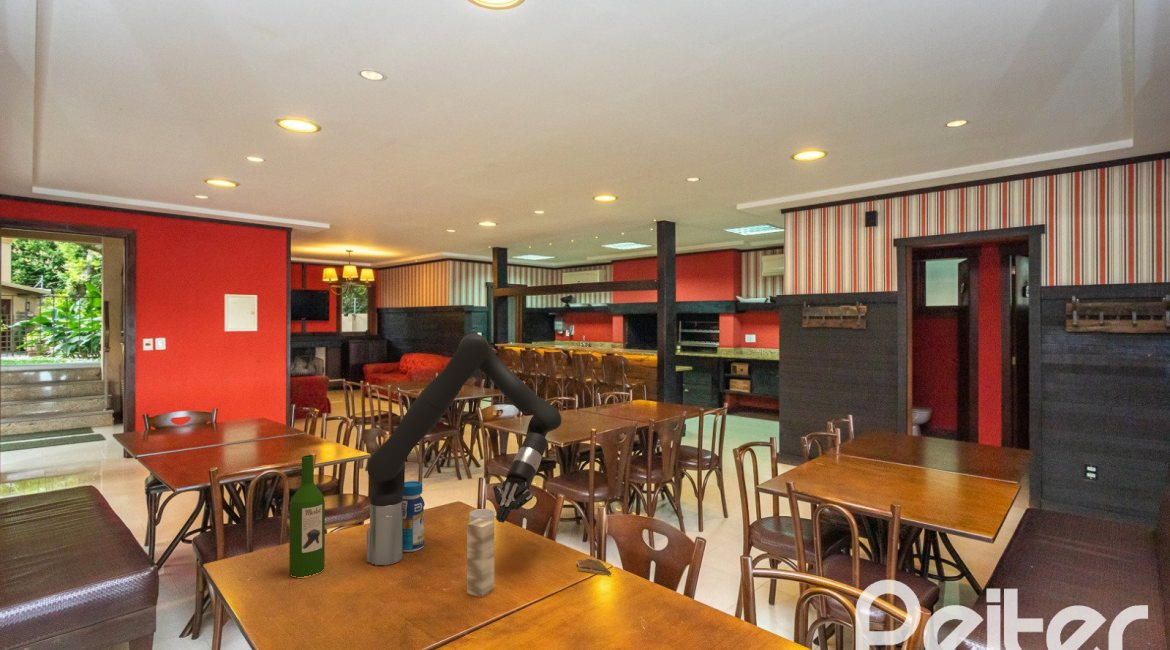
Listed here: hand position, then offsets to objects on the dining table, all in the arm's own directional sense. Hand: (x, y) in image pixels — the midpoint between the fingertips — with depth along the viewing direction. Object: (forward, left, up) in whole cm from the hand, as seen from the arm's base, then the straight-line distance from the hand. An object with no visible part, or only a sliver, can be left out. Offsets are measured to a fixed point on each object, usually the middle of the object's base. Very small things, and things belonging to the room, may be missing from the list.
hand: (499, 520), depth 157 cm
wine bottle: (-55, -4, -16) cm, 57 cm away
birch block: (-3, -8, -16) cm, 18 cm away
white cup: (-13, +23, -16) cm, 31 cm away
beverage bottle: (-34, +17, -16) cm, 41 cm away
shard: (+25, +11, -17) cm, 32 cm away
